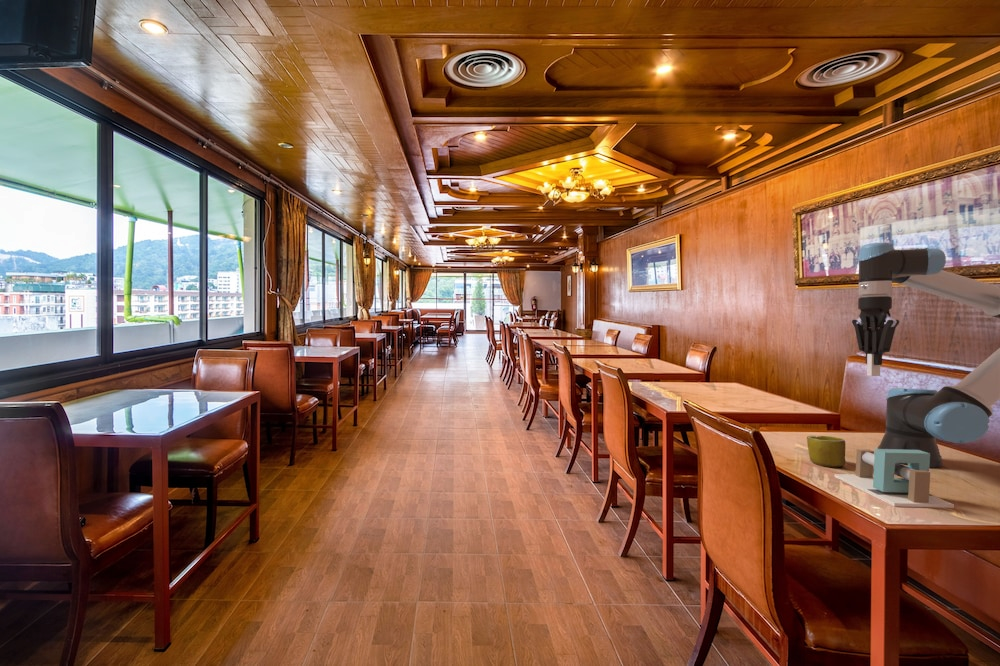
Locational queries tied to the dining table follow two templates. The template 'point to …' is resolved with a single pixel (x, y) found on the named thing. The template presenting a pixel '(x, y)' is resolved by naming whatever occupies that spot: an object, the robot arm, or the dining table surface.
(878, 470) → the collar
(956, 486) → the dining table surface
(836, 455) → the mug
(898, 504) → the pipe rail
